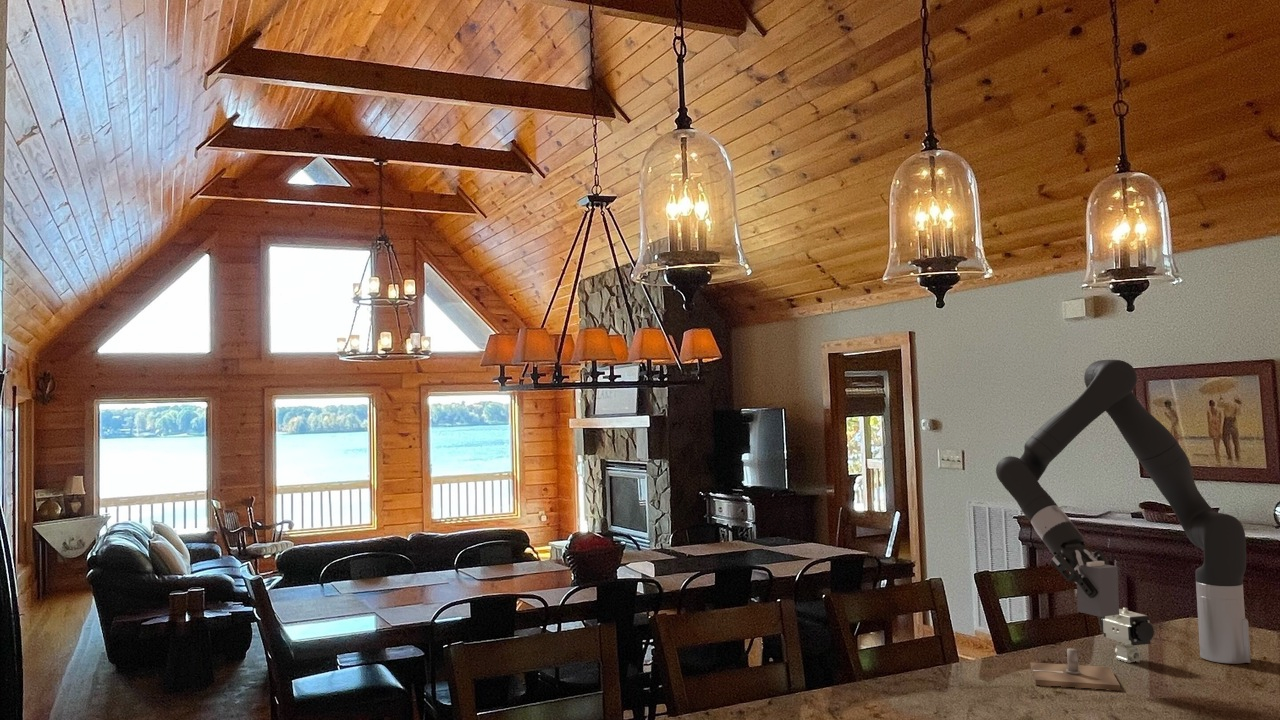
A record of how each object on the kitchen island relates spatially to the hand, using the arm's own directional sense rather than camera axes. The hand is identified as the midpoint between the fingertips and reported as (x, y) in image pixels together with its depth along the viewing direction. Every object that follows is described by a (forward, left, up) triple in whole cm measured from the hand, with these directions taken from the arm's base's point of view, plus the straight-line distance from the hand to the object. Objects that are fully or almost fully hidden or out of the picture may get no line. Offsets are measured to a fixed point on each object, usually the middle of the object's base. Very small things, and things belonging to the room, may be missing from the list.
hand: (1104, 594), depth 195 cm
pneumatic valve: (-6, -21, -19) cm, 29 cm away
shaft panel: (+7, -3, -19) cm, 20 cm away
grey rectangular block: (+1, -1, -4) cm, 5 cm away
